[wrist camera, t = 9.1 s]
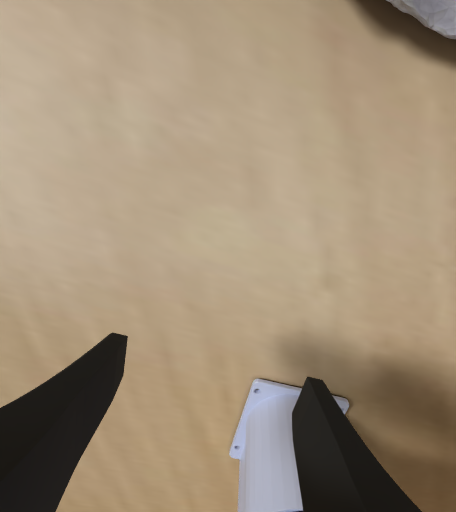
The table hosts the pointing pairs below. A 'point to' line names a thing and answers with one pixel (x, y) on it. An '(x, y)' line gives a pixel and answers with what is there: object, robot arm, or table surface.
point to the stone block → (432, 14)
